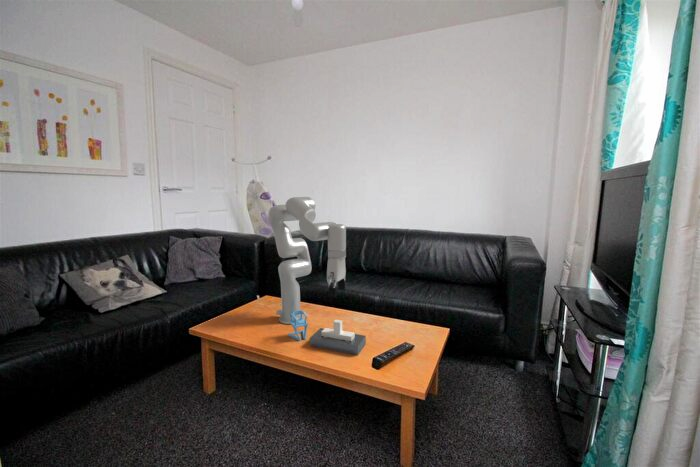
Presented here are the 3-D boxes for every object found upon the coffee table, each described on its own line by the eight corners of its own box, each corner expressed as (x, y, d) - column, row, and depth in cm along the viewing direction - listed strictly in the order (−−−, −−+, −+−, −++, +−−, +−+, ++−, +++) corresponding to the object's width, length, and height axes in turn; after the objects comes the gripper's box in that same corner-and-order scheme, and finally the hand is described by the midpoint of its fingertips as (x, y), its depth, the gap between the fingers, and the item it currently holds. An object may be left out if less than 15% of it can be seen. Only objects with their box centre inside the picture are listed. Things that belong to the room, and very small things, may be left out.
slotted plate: (310, 346, 139) (310, 337, 138) (320, 336, 148) (320, 328, 147) (357, 355, 131) (357, 346, 130) (365, 344, 140) (365, 335, 139)
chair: (294, 342, 142) (294, 317, 140) (287, 335, 149) (287, 311, 147) (310, 338, 146) (310, 313, 144) (303, 331, 153) (302, 307, 151)
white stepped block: (321, 343, 140) (321, 320, 139) (325, 339, 144) (325, 317, 142) (351, 349, 135) (351, 325, 133) (354, 344, 139) (354, 321, 137)
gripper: (337, 249, 143) (337, 286, 146) (319, 257, 127) (320, 298, 130) (352, 250, 140) (352, 288, 143) (336, 258, 125) (337, 300, 127)
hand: (337, 293), depth 136 cm, fingers open, 9 cm apart
